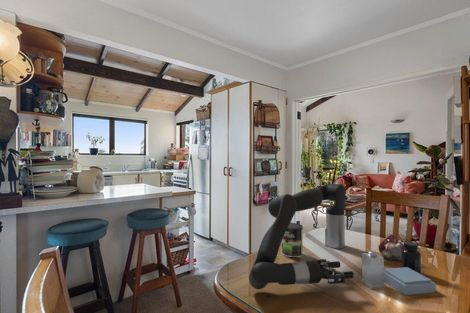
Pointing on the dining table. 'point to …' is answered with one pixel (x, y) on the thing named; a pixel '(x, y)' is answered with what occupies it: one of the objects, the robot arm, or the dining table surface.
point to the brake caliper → (391, 248)
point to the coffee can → (292, 241)
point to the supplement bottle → (411, 257)
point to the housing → (373, 270)
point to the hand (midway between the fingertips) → (346, 269)
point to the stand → (408, 281)
